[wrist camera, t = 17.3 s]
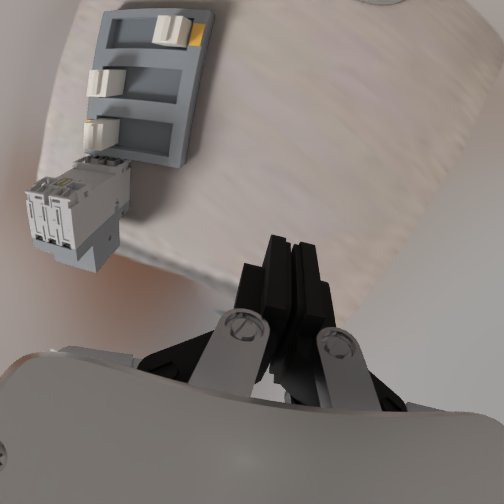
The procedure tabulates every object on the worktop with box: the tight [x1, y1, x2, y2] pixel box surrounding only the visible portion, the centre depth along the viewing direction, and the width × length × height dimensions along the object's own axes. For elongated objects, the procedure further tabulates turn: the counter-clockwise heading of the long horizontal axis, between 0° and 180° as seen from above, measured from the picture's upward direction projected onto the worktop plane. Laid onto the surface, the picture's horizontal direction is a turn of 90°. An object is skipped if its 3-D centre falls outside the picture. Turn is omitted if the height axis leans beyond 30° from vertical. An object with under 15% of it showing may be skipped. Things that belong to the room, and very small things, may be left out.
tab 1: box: [87, 70, 127, 97], centre depth 30 cm, size 4×3×5 cm
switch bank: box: [85, 8, 215, 169], centre depth 32 cm, size 21×15×3 cm
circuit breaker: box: [25, 154, 131, 273], centre depth 37 cm, size 8×14×15 cm, turn 169°
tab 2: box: [83, 118, 120, 151], centre depth 33 cm, size 4×3×5 cm
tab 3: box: [152, 15, 193, 48], centre depth 26 cm, size 4×3×5 cm
